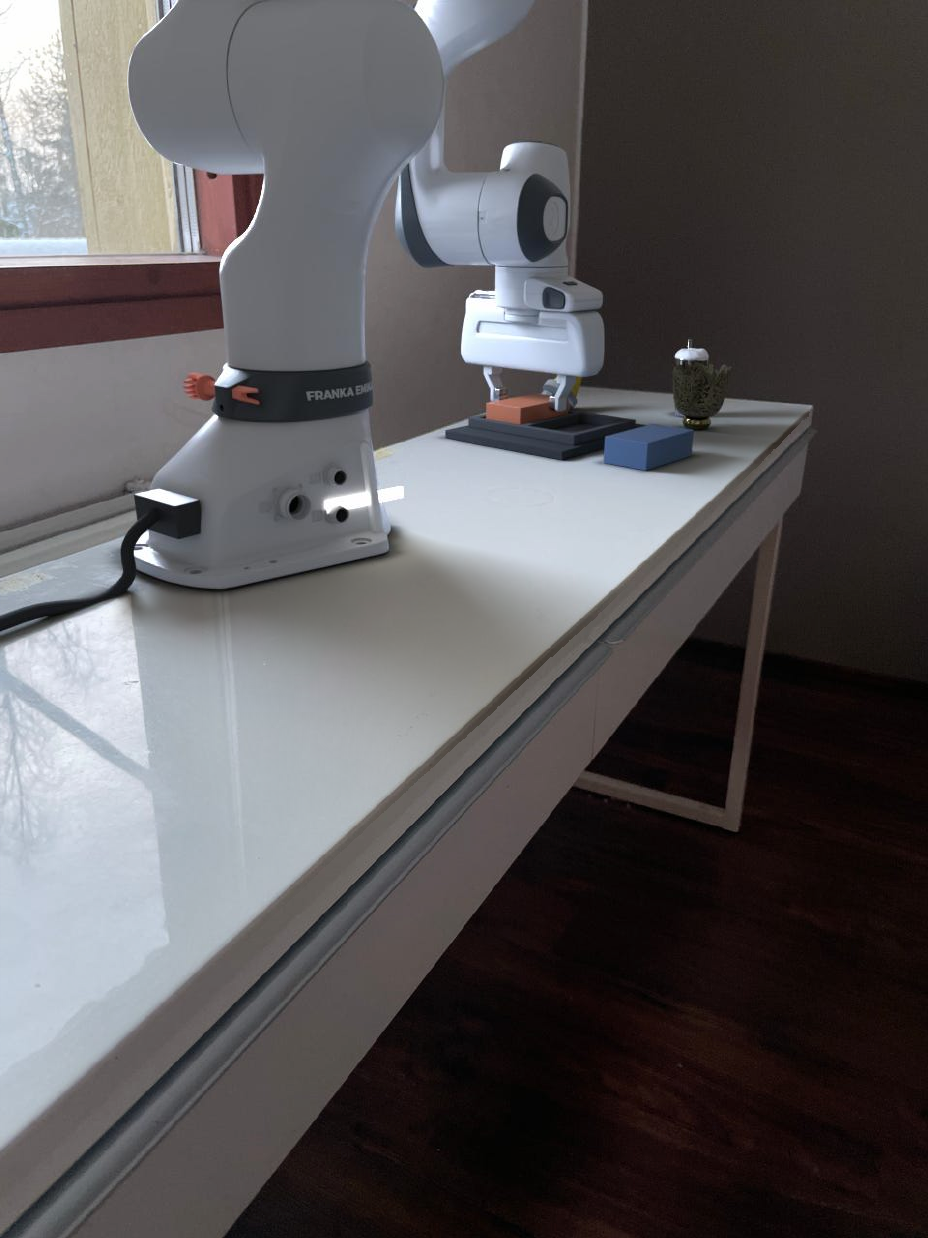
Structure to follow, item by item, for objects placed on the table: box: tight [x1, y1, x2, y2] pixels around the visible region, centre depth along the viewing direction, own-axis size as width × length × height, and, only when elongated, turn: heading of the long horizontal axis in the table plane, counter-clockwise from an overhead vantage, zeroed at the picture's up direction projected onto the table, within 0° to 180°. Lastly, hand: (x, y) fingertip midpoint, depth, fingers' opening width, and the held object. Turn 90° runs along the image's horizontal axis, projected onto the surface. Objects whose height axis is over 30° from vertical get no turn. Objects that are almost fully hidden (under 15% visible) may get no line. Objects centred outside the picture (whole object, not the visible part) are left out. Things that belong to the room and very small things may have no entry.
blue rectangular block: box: [603, 423, 695, 472], centre depth 108 cm, size 10×6×3 cm, turn 138°
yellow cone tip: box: [541, 376, 583, 410], centre depth 136 cm, size 5×5×10 cm
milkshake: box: [674, 338, 710, 418], centre depth 132 cm, size 4×5×10 cm
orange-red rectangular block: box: [485, 392, 569, 425], centre depth 122 cm, size 10×6×3 cm, turn 138°
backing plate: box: [444, 409, 648, 461], centre depth 120 cm, size 20×18×2 cm
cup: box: [671, 362, 733, 431], centre depth 124 cm, size 8×7×8 cm
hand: (527, 406), depth 121 cm, fingers open, 8 cm apart
